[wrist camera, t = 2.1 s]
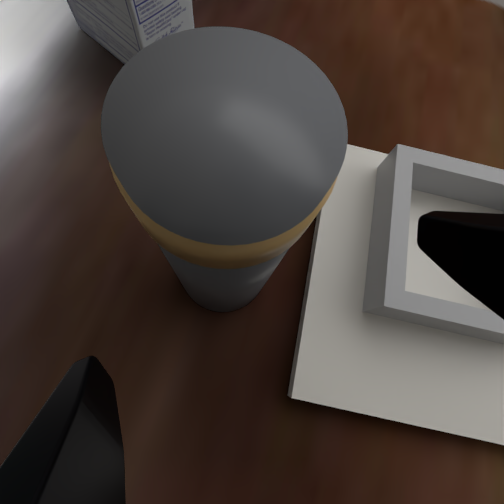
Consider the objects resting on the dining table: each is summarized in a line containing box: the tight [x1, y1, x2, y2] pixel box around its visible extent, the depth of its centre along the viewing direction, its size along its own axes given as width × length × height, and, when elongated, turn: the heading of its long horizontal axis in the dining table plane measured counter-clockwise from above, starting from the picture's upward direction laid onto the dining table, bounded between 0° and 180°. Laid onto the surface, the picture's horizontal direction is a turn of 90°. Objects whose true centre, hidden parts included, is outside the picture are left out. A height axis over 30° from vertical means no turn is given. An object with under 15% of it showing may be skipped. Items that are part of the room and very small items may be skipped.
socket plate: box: [288, 144, 504, 445], centre depth 18 cm, size 16×16×4 cm
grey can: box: [101, 27, 348, 312], centre depth 13 cm, size 5×5×13 cm
